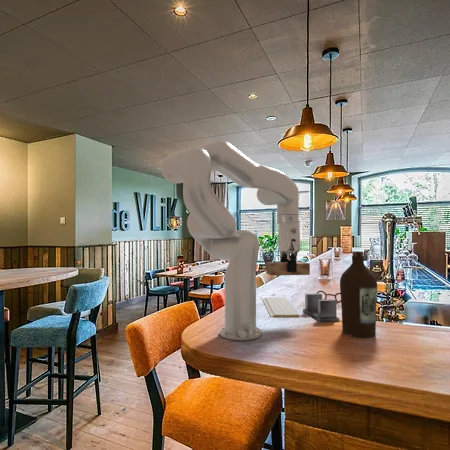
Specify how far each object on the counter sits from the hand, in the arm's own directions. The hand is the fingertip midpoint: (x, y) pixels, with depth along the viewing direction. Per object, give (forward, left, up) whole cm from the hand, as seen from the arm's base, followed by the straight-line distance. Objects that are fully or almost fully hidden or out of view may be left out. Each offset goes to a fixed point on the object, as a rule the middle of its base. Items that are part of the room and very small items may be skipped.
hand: (288, 270), depth 115 cm
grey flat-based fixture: (+3, -13, -17) cm, 22 cm away
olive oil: (-18, -16, -18) cm, 30 cm away
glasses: (+21, -25, -18) cm, 37 cm away
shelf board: (0, 0, -1) cm, 1 cm away
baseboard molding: (+19, -2, -18) cm, 27 cm away
